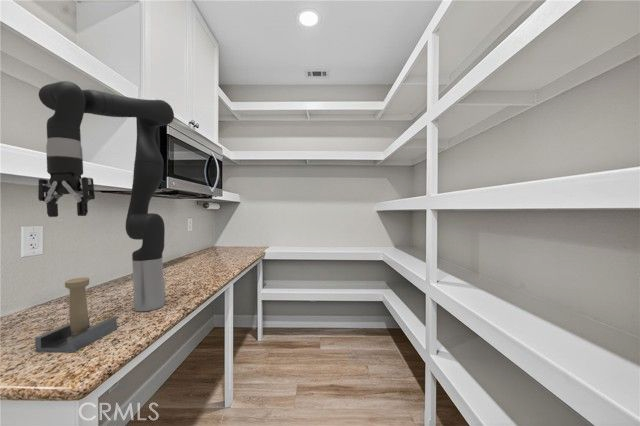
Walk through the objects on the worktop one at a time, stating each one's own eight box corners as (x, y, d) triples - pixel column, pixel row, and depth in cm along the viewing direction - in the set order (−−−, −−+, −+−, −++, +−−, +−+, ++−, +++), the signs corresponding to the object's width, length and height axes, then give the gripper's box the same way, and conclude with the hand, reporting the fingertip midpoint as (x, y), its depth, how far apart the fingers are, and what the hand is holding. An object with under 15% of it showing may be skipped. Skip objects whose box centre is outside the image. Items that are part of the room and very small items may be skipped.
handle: (93, 329, 84) (91, 276, 84) (88, 338, 78) (85, 281, 78) (71, 333, 82) (69, 279, 82) (64, 342, 76) (62, 284, 76)
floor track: (84, 329, 87) (84, 317, 87) (116, 329, 87) (116, 317, 87) (35, 352, 74) (35, 337, 73) (73, 352, 73) (72, 338, 73)
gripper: (100, 158, 85) (102, 215, 85) (54, 160, 86) (56, 216, 86) (77, 153, 77) (79, 216, 78) (26, 155, 78) (29, 217, 79)
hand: (67, 216), depth 82 cm, fingers open, 8 cm apart
